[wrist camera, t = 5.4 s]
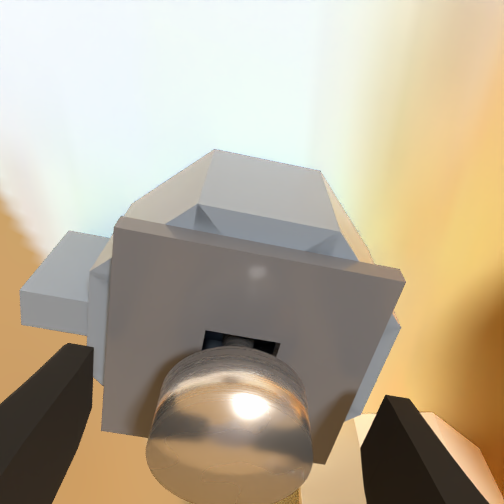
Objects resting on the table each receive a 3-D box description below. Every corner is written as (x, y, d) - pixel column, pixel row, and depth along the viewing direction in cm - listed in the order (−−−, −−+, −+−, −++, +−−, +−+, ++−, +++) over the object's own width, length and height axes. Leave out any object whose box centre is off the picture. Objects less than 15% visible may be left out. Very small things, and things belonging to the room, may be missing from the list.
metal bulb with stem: (305, 246, 15) (333, 416, 9) (280, 329, 17) (290, 519, 11) (198, 226, 15) (154, 387, 9) (184, 312, 17) (138, 497, 11)
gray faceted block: (392, 185, 15) (445, 262, 11) (322, 371, 19) (340, 481, 15) (77, 120, 14) (-6, 175, 10) (73, 328, 18) (14, 433, 14)
